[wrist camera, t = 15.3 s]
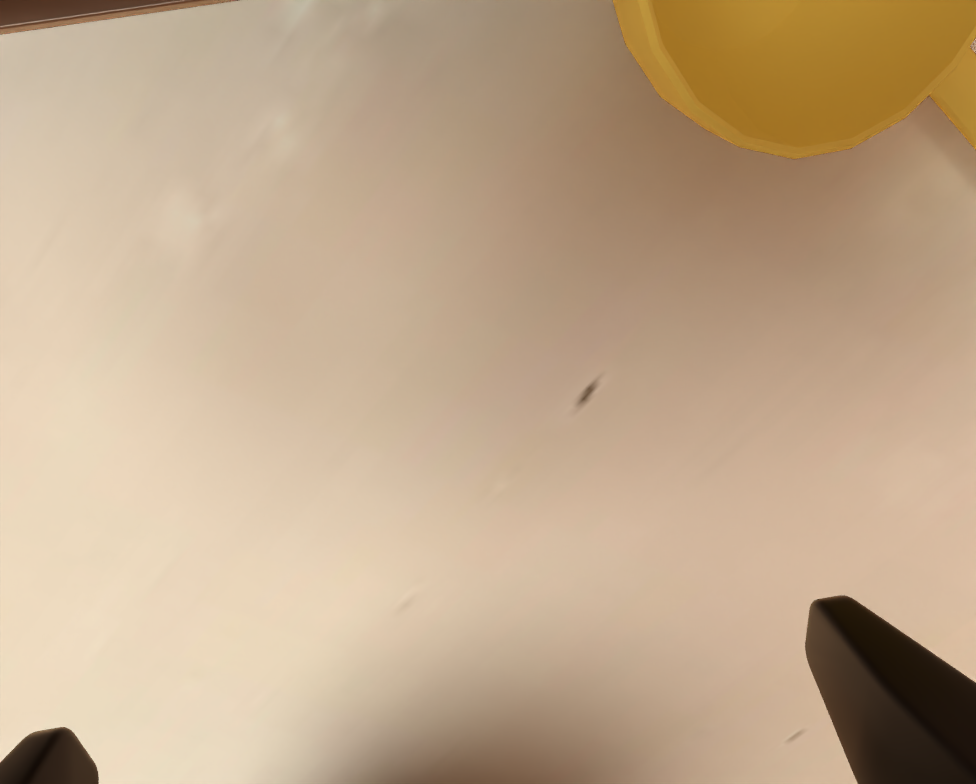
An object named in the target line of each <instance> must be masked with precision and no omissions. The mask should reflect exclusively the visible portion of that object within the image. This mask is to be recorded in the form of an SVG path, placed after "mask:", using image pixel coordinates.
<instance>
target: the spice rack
mask: <svg viewBox="0 0 976 784" xmlns="http://www.w3.org/2000/svg"><path fill="white" fill-rule="evenodd" d="M231 1H238V0H0V34H7V33H14V32H21V31H28V30H35V29H42V28H49V27H56V26H63V25H70V24H77V23H84V22H91V21H98V20H105V19H112V18H119V17H126V16H133V15H140V14H147V13H154V12H161V11H168V10H175V9H182V8H189V7H196V6H203V5H210V4H217V3H224V2H231Z"/></svg>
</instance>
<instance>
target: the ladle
mask: <svg viewBox="0 0 976 784" xmlns="http://www.w3.org/2000/svg"><path fill="white" fill-rule="evenodd" d="M613 4H614V7H615V10H616V14H617V17H618V21H619V24H620V28H621V31H622V34H623V38H624V41H625V44H626V46H627V47H628V49H629V50H630V52H631V53H632V55H633V56H634V58H635V59H636V61H637V62H638V64H639V65H640V67H641V68H642V70H643V71H644V73H645V75H646V76H647V78H648V79H649V81H650V82H651V84H652V85H653V87H654V88H655V90H656V91H657V93H658V94H659V96H660V97H661V98H663V99H664V100H665V101H667V102H668V103H669V104H671V105H672V106H674V107H675V108H676V109H678V110H679V111H681V112H682V113H683V114H685V115H686V116H687V117H689V118H690V119H692V120H693V121H694V122H696V123H697V124H699V125H700V126H701V127H703V128H704V129H706V130H708V131H709V132H711V133H713V134H715V135H717V136H719V137H721V138H723V139H725V140H727V141H729V142H730V143H732V144H734V145H736V146H738V147H741V148H745V149H750V150H755V151H759V152H764V153H768V154H773V155H778V156H782V157H787V158H791V159H798V158H803V157H809V156H814V155H819V154H825V153H830V152H836V151H841V150H847V149H851V148H853V147H855V146H856V145H858V144H860V143H862V142H864V141H865V140H867V139H869V138H871V137H872V136H874V135H876V134H878V133H880V132H881V131H883V130H885V129H887V128H888V127H890V126H892V125H894V124H896V123H897V122H899V121H901V120H903V119H904V118H906V117H907V116H908V115H909V114H910V113H911V112H912V111H913V110H914V109H915V108H916V107H917V106H918V105H919V104H920V103H921V102H922V101H923V100H924V99H925V98H926V97H927V96H928V95H929V96H930V97H931V98H932V99H933V100H934V102H935V103H936V104H937V105H938V106H939V107H940V109H941V110H942V111H943V112H944V113H945V115H946V116H947V117H948V118H949V119H950V120H951V122H952V123H953V124H954V125H955V126H956V127H957V129H958V130H959V131H960V132H961V133H962V135H963V136H964V137H965V138H966V139H967V140H968V142H969V143H970V144H971V145H972V146H973V147H974V149H975V150H976V54H975V53H974V52H973V50H972V49H971V48H970V46H971V44H972V42H973V41H974V39H975V38H976V0H613Z"/></svg>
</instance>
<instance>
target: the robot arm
mask: <svg viewBox="0 0 976 784" xmlns="http://www.w3.org/2000/svg"><path fill="white" fill-rule="evenodd" d="M805 650H806V656H807V660H808V663H809V666H810V669H811V671H812V673H813V676H814V678H815V681H816V683H817V686H818V688H819V691H820V693H821V696H822V698H823V700H824V703H825V705H826V708H827V710H828V713H829V715H830V718H831V720H832V722H833V725H834V727H835V730H836V732H837V735H838V737H839V740H840V742H841V744H842V747H843V749H844V752H845V754H846V757H847V759H848V762H849V764H850V766H851V769H852V771H853V774H854V776H855V778H856V780H857V783H858V784H976V683H975V682H974V681H972V680H971V679H970V678H968V677H967V676H965V675H964V674H962V673H961V672H959V671H958V670H956V669H955V668H953V667H952V666H951V665H949V664H948V663H946V662H945V661H943V660H942V659H940V658H939V657H937V656H936V655H935V654H933V653H932V652H930V651H929V650H927V649H926V648H924V647H923V646H921V645H920V644H918V643H917V642H916V641H914V640H913V639H911V638H910V637H908V636H907V635H905V634H904V633H902V632H901V631H899V630H898V629H897V628H895V627H894V626H892V625H891V624H889V623H888V622H886V621H885V620H883V619H882V618H881V617H879V616H878V615H876V614H875V613H873V612H872V611H870V610H869V609H867V608H866V607H864V606H863V605H862V604H860V603H859V602H857V601H856V600H854V599H852V598H850V597H848V596H834V597H828V598H822V599H817V600H814V601H813V603H812V604H811V606H810V610H809V618H808V626H807V634H806V642H805ZM98 780H99V777H98V771H97V767H96V765H95V763H94V761H93V760H92V758H91V757H90V756H89V754H88V753H87V751H86V750H85V748H84V747H83V746H82V744H81V743H80V741H79V740H78V738H77V737H76V736H75V734H74V733H73V732H72V731H71V730H70V729H68V728H65V727H60V728H54V729H48V730H42V731H37V732H34V733H31V734H29V735H28V736H27V737H25V738H24V739H23V740H22V741H21V742H20V743H19V744H18V745H17V746H16V747H15V748H14V749H13V750H12V751H11V752H10V753H9V754H8V755H7V756H6V757H5V758H4V759H3V760H2V761H1V762H0V784H98Z"/></svg>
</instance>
